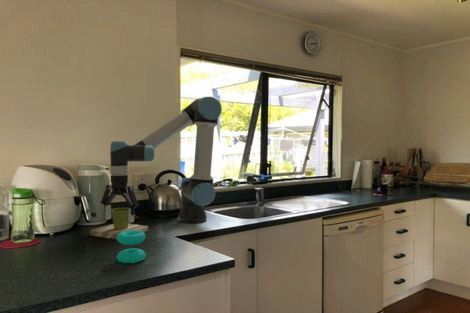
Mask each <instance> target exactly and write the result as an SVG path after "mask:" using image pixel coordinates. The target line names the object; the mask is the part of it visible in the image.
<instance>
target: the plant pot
mask: <svg viewBox="0 0 470 313" xmlns="http://www.w3.org/2000/svg"><path fill="white" fill-rule="evenodd" d="M129 208H130V207H116V208H111V210H110V212H111V219H112V222H113V223H112V224H114V229H126V228H128V224H130V223H129Z"/></svg>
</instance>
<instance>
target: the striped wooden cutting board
mask: <svg viewBox="0 0 470 313" xmlns="http://www.w3.org/2000/svg"><path fill="white" fill-rule="evenodd" d="M130 230H138V231H142V232H144V233H146V231H147V232H149V226H148V225H141V224H134V223H128V228H126V229H114V224H113V223H112V224H109V225H105V226H99V227H97V228H93V229H90V232H89V234H90V236H94V237H99V238H105V239H111V238H112V240H117V235H118V234H119V233H121V232H124V231H130Z"/></svg>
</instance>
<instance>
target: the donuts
mask: <svg viewBox="0 0 470 313" xmlns="http://www.w3.org/2000/svg"><path fill="white" fill-rule="evenodd" d="M145 239H146V232H142V231H138V230H130V231H124V232H121V233H119V234H118V235H117V239H116V241H117V242H118V243H120V244H122V245H127V246H131V245H133V246H134V245H137V244H141V243H142V242H144V241H145ZM146 256H147V255H146V252H145V251H144V250H143V249H140V248H126V249H123V250H121V251H119V252H118V254H117V255H116V260H117V262H119V263H120V262H122V263H121V264H124V263H133V264H136V263H135V262H138V263H140V262H139V261H141V262H143V261H144V260H145V259H146ZM142 260H143V261H142Z"/></svg>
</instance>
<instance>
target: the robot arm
mask: <svg viewBox="0 0 470 313" xmlns="http://www.w3.org/2000/svg"><path fill="white" fill-rule="evenodd" d="M222 110H223V109H222V104H221V102H220V101H219V99H218V98H217V97H215V96H212V95H205V96H202V97H199V98H196V99H195V100H193V101H192V102H191V103H190V104H189V105H187V106H185V108H183V109H181V110H180V114H178V115H177V116H175V117H174V118H172V119H171V120H169V121H168V122H166V123H164V124H163V125H162V126H160V127H159V128H158V129H156V130H154V131H152V133H150V134H148V135H146V137H144V138H142V139H141V140H140V141H138V142H136V143H134V144H133V145H129V144H128V143H129V142H128V141H127V140H126V141H125V140H124V141H123V140H122V141H121V140H120V141H119V140H118V141H117V140H115V141H114V140H113V141H111V142H110V150H109V151H110V152H109V153H110V154H109V156H110V183H111V184H106V185H105V191H104V193H103V196H102V198H101V200H100V204H101V205H104V212H105V220H106V221H107V220H111V219H112V214H111V212H110V210H111V209H112V204H111V203H112V202H113V200H114V199H115V197H116V196H121V197H123V199H124V200H125V201H126V203H127V205H128V206H129V207H128V208H129V223H128V224H132V223H134V222H135V215H136V208H138V207H139V206H140V204H139V201H138V199H137V197H136V194H135V190H134V186H133V185H128V183H129V176H128V172H129V170H128V168H129V167H128V166H129V165H128V164H129V162H146V163H147V162H152V161H154V159H155V150H156V149H157V148H158V147H160V146H162V145H163V144H164V143H166V142H167V141H169V140H170V139H172V138H173V137H175V136H177V134H179V133H180V132H182V131H183V130H185V129H186V128H187V127H189V126H190V127H192V126H194V125H195V126H196V133H195V134H196V135H195V147H194V162H193V174H192V175H191V176H190V177H184V178H182V179H181V182H180V183H181V184H180V190H181V192H180V193H181V206H180V210H179V213H178V216H177V217H178V218H177V222H179V223H183V224H200V223H205V222H206V221H207V218H208V216H207V212H206V211H205V206H208V205H211V203H213V201H214V200H215V197H216V189H215V187H214V178H213V177H212V160H213V149H214V148H213V147H214V135H215V134H214V132H215V127H217V126H218V123H219V122H218V121H219V117H220V116H221V114H222Z"/></svg>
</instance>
